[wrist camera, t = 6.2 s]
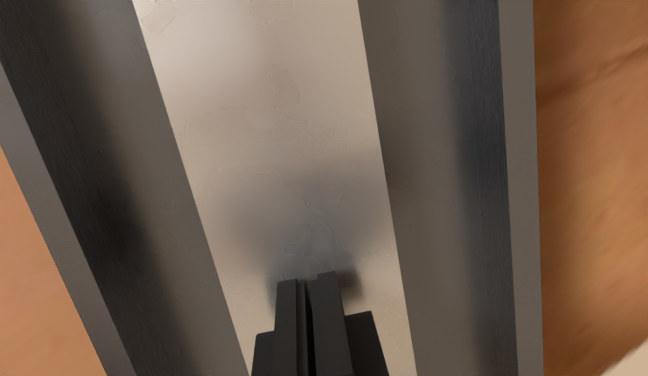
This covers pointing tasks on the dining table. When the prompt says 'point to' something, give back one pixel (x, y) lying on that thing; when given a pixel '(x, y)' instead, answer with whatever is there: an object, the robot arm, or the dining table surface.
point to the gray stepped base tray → (182, 214)
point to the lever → (282, 154)
